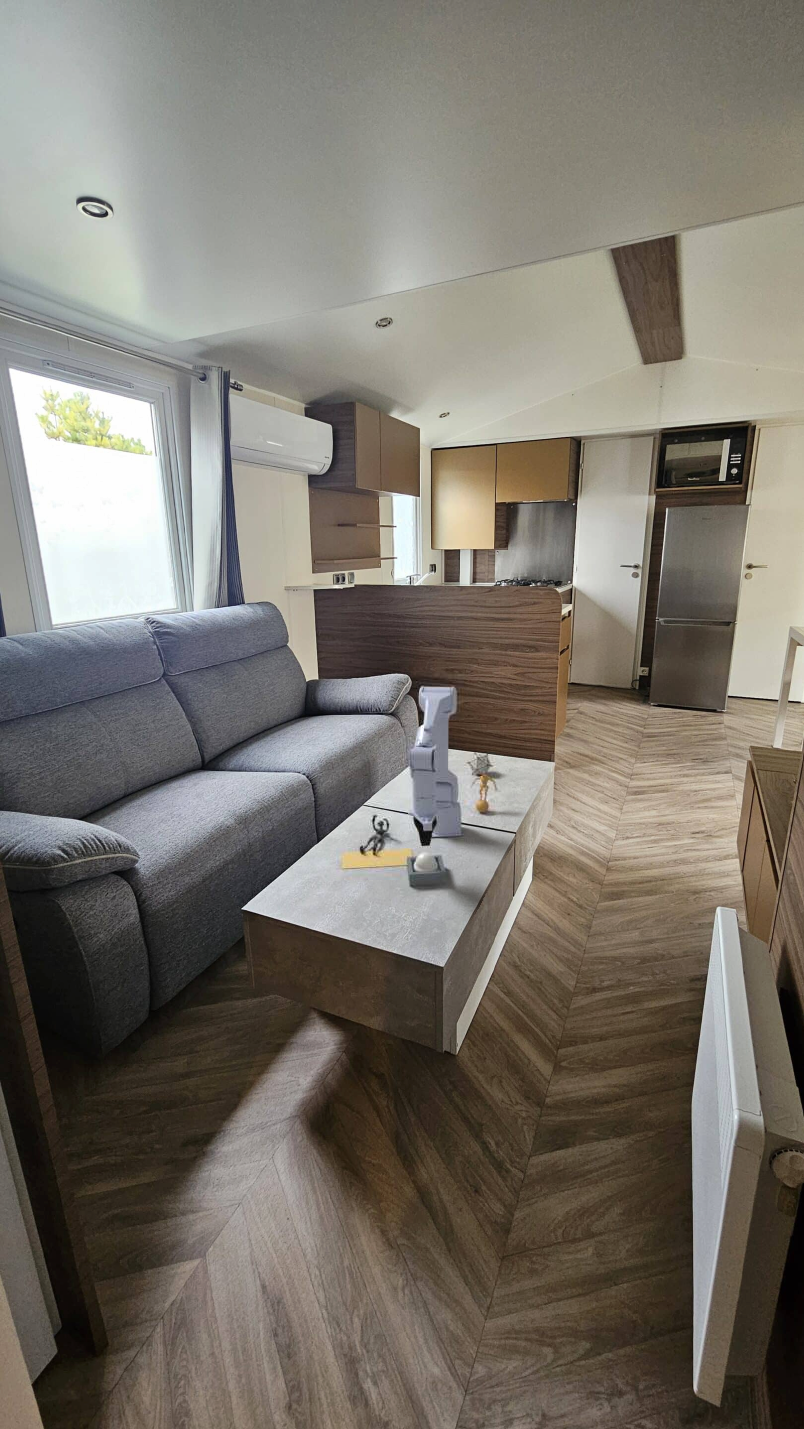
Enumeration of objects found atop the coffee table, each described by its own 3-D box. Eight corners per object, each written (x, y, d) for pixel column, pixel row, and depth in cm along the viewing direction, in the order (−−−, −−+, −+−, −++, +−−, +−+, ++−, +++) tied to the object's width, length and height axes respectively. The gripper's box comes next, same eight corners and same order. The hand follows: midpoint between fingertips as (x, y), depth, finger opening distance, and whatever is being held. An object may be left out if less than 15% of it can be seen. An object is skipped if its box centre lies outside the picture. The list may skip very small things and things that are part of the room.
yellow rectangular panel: (411, 849, 171) (411, 848, 171) (414, 865, 162) (414, 864, 162) (342, 852, 170) (342, 852, 170) (341, 869, 161) (341, 868, 161)
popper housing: (441, 866, 161) (441, 855, 160) (445, 884, 152) (445, 872, 151) (407, 868, 160) (406, 857, 160) (409, 886, 152) (409, 874, 151)
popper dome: (436, 865, 159) (436, 847, 158) (439, 877, 153) (438, 858, 152) (413, 867, 159) (412, 848, 157) (415, 879, 153) (414, 860, 152)
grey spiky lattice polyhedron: (475, 783, 227) (464, 758, 230) (496, 774, 227) (485, 749, 230) (474, 779, 219) (463, 754, 221) (496, 770, 218) (485, 745, 221)
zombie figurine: (358, 830, 167) (374, 810, 181) (359, 854, 169) (375, 831, 183) (376, 832, 166) (392, 811, 180) (378, 855, 167) (393, 832, 181)
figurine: (467, 812, 193) (467, 776, 190) (473, 805, 198) (473, 770, 195) (493, 816, 190) (494, 779, 187) (498, 808, 195) (499, 773, 192)
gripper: (405, 784, 157) (407, 832, 161) (410, 806, 143) (411, 859, 147) (433, 782, 158) (434, 831, 161) (440, 805, 144) (441, 858, 147)
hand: (425, 844), depth 154 cm, fingers closed
